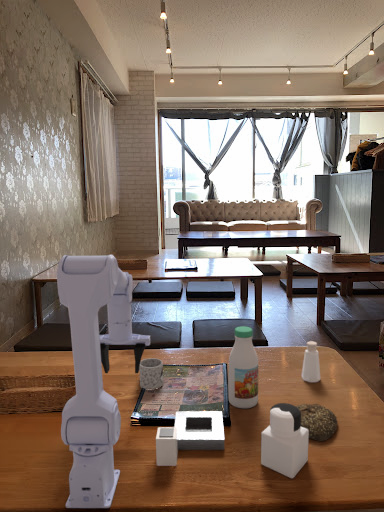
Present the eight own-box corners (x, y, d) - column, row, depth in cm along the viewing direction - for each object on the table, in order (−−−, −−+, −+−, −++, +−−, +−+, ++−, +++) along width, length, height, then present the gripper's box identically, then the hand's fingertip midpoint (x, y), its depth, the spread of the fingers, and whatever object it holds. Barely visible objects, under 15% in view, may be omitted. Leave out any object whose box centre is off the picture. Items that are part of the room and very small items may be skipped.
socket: (224, 449, 88) (224, 439, 87) (173, 449, 88) (172, 439, 88) (221, 420, 98) (221, 411, 98) (176, 421, 99) (176, 411, 98)
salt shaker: (324, 380, 118) (326, 344, 116) (308, 384, 116) (310, 347, 114) (312, 372, 123) (313, 338, 121) (297, 376, 121) (298, 340, 119)
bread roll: (322, 448, 88) (323, 427, 87) (273, 425, 97) (273, 406, 96) (347, 423, 97) (348, 403, 96) (300, 404, 106) (301, 386, 105)
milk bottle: (223, 405, 106) (223, 331, 102) (234, 391, 112) (235, 322, 109) (252, 412, 102) (252, 336, 99) (262, 398, 109) (262, 326, 105)
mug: (166, 387, 116) (166, 365, 115) (144, 392, 113) (143, 369, 112) (154, 373, 125) (153, 352, 123) (133, 377, 122) (132, 356, 121)
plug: (176, 465, 83) (175, 438, 82) (156, 465, 83) (155, 438, 82) (177, 453, 87) (176, 426, 86) (158, 453, 87) (157, 426, 86)
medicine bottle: (276, 447, 88) (277, 395, 86) (308, 460, 84) (310, 406, 82) (260, 464, 83) (260, 410, 81) (292, 480, 78) (294, 422, 76)
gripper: (151, 314, 104) (152, 364, 107) (95, 315, 105) (98, 364, 107) (147, 323, 97) (149, 377, 100) (87, 324, 98) (90, 377, 100)
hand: (122, 371), depth 103 cm, fingers open, 7 cm apart
